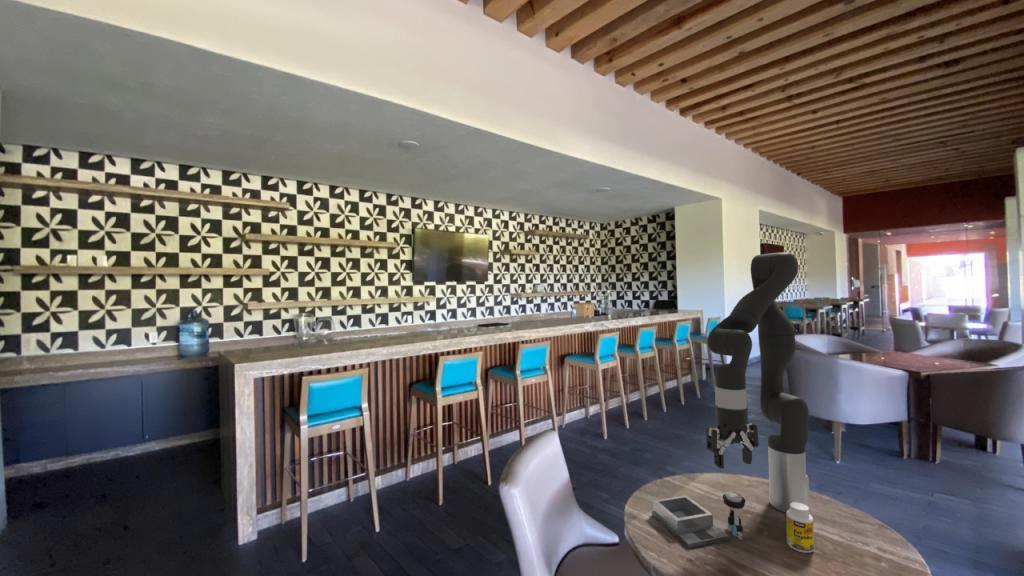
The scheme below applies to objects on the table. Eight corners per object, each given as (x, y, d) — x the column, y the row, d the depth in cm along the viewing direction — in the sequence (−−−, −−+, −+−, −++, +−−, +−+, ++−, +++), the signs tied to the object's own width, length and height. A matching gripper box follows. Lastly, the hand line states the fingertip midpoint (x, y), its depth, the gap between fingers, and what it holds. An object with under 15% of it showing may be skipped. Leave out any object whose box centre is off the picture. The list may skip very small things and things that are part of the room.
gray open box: (687, 509, 121) (687, 494, 121) (728, 540, 105) (728, 524, 105) (651, 515, 118) (651, 500, 118) (688, 548, 102) (688, 531, 103)
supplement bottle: (791, 552, 100) (790, 510, 101) (783, 538, 106) (782, 499, 106) (818, 555, 99) (816, 513, 99) (809, 542, 104) (808, 502, 104)
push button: (751, 542, 105) (750, 502, 105) (729, 540, 105) (728, 501, 106) (741, 527, 111) (740, 490, 111) (720, 526, 112) (719, 489, 112)
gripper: (742, 398, 114) (744, 456, 114) (698, 403, 111) (700, 463, 111) (765, 405, 107) (767, 467, 107) (718, 410, 103) (720, 474, 103)
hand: (733, 465), depth 109 cm, fingers open, 8 cm apart
